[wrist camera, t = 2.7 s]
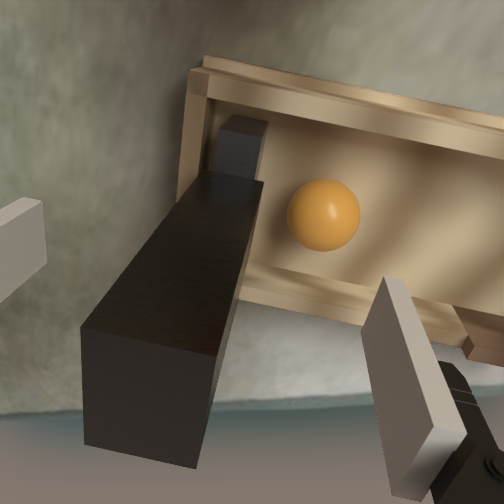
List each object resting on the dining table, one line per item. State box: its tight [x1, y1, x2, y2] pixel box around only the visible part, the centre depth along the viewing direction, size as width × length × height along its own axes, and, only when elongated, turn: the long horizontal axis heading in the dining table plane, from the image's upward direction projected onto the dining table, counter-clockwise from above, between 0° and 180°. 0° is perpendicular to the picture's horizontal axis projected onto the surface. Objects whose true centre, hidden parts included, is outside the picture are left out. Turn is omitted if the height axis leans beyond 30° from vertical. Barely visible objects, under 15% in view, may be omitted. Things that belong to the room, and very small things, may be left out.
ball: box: [287, 179, 361, 252], centre depth 22 cm, size 4×4×4 cm
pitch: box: [176, 55, 504, 367], centre depth 22 cm, size 24×13×5 cm, turn 80°
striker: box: [80, 114, 269, 469], centre depth 17 cm, size 3×8×16 cm, turn 170°
